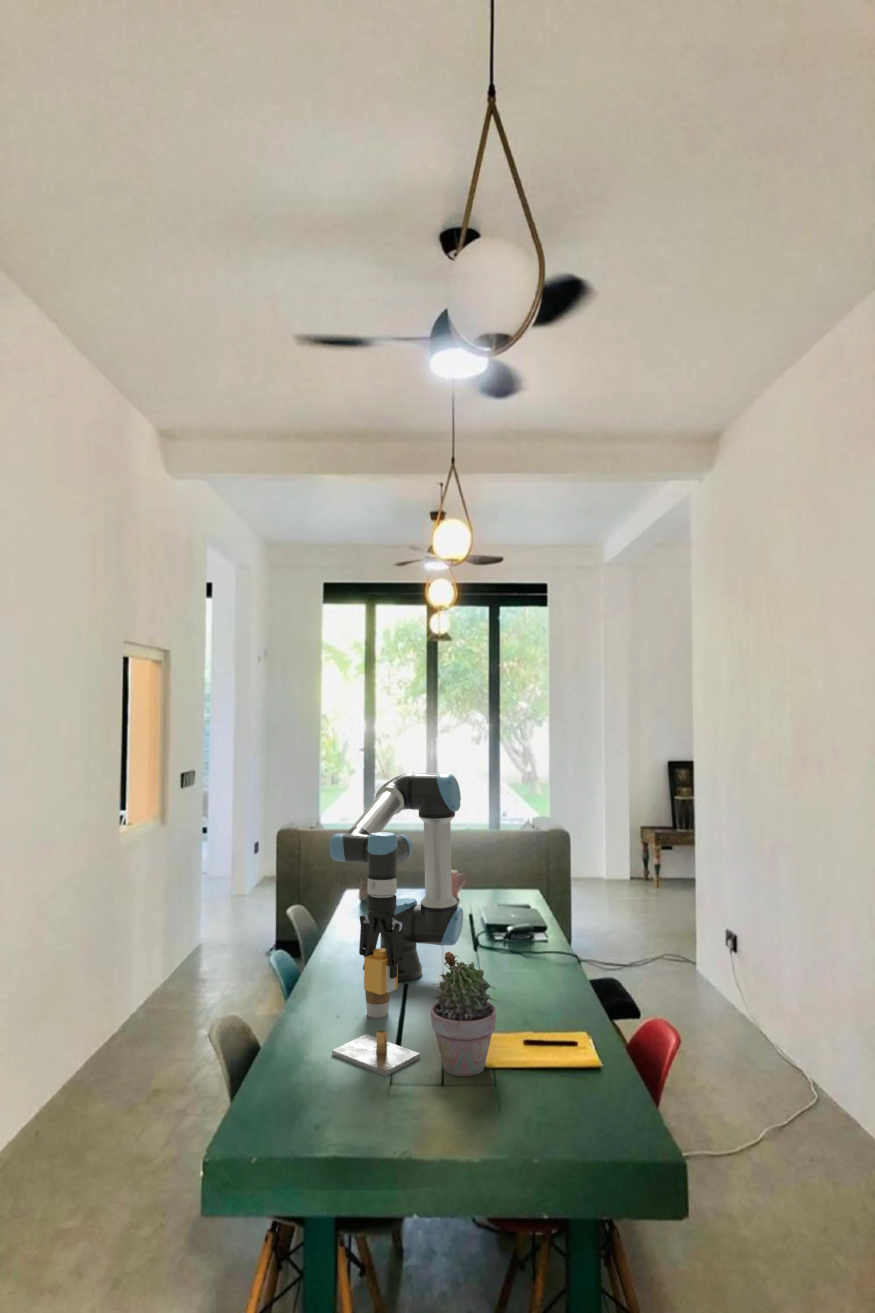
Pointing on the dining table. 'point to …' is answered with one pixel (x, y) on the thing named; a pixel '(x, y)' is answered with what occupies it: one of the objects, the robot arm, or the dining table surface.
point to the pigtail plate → (376, 1054)
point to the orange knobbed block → (376, 972)
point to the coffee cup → (377, 1004)
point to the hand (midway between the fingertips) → (380, 988)
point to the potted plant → (463, 1019)
